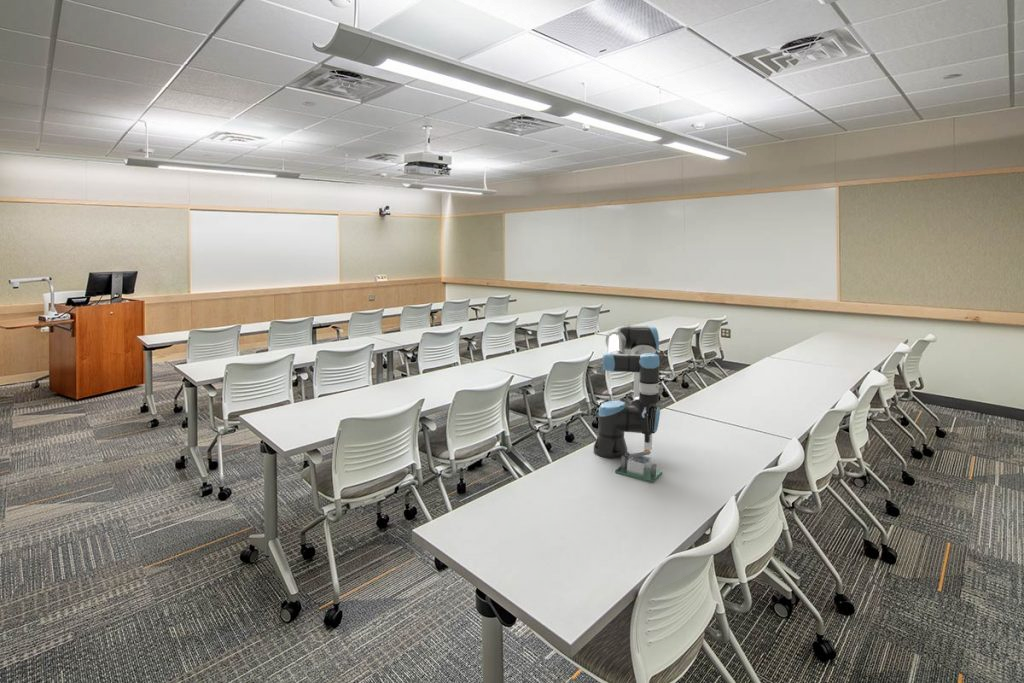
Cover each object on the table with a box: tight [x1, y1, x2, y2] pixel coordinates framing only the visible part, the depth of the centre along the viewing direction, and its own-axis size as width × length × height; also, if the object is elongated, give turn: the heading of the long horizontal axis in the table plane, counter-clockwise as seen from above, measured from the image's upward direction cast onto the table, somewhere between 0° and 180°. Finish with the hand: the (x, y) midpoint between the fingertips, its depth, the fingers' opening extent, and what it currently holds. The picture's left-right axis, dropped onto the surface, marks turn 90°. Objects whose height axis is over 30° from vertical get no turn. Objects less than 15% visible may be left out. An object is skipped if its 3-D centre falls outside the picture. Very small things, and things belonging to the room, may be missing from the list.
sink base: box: [614, 452, 663, 484], centre depth 214 cm, size 16×11×6 cm
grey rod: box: [625, 449, 652, 459], centre depth 214 cm, size 12×2×2 cm, turn 53°
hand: (648, 449), depth 211 cm, fingers closed
